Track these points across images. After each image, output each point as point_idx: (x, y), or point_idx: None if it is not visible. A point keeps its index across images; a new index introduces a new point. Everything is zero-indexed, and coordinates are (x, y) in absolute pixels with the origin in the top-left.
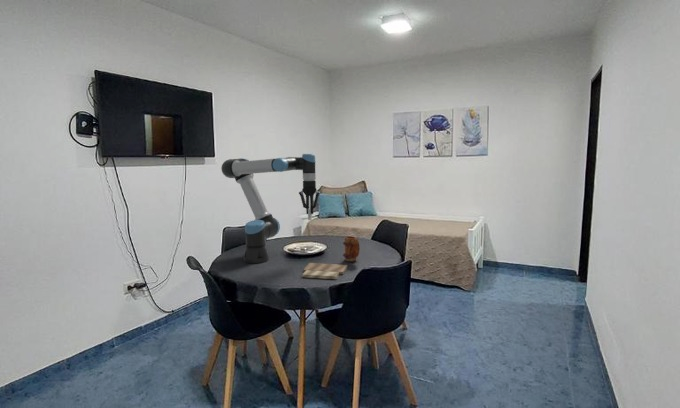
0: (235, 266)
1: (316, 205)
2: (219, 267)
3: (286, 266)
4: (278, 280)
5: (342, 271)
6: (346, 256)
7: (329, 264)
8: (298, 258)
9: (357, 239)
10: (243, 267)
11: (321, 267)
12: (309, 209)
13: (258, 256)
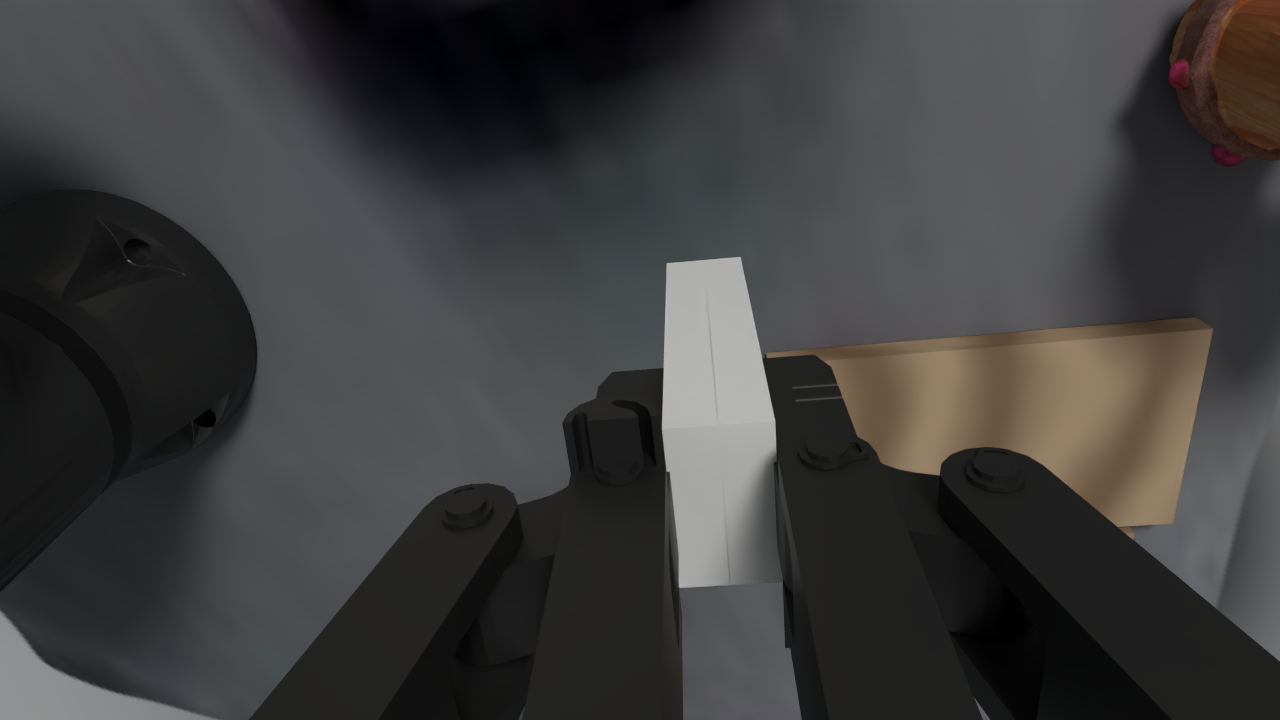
0: (108, 536)
1: (1087, 514)
2: (10, 584)
3: (547, 434)
4: None
5: (1165, 515)
6: (1229, 165)
7: (1003, 362)
8: (535, 150)
9: None
10: (193, 542)
11: (935, 464)
12: (743, 578)
13: (182, 438)
